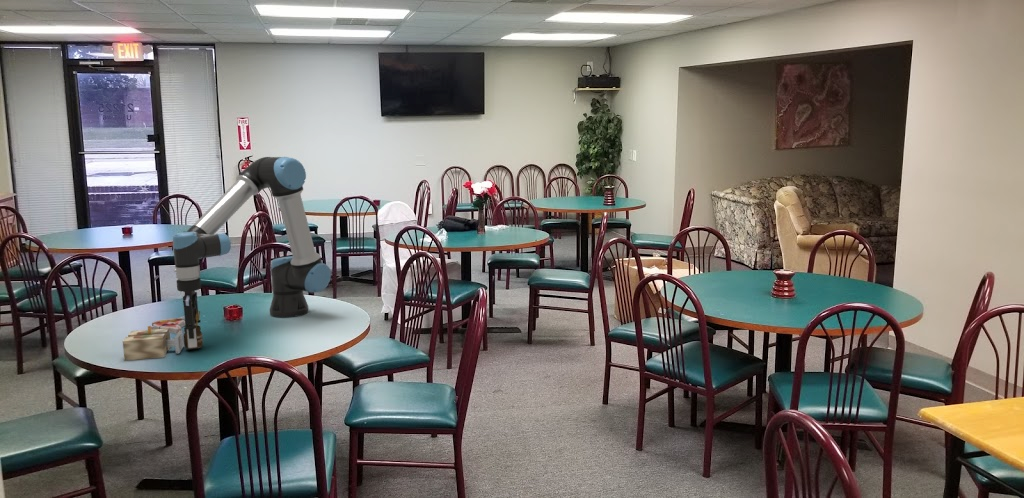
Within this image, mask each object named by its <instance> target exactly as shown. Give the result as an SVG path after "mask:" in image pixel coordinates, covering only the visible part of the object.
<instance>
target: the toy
mask: <svg viewBox="0 0 1024 498" xmlns="http://www.w3.org/2000/svg"><path fill="white" fill-rule="evenodd" d="M184 320H185V315H183V316H180V317H178V318H177V317H176V318H167V319H165V318H164V319H159V320H155V321H154V322H152V323H151V325H150V326H151V330H154V329H167V328H169V331H170V334H174V333H175V335H177V333H178V332H179V331H183V329H182V328H184V327H185V326H184V325H185V323H183V322H185V321H184Z"/></svg>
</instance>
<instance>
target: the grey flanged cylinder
mask: <svg viewBox="0 0 1024 498" xmlns="http://www.w3.org/2000/svg"><path fill="white" fill-rule="evenodd" d="M151 326H152V325H148V326H147V330H148V335H152V332H151ZM183 332H184V330H182V331H179V332H178V333H177V334H175V336H174V338H170V339H165V341H166V347H170V348H174V349H175V354H181V352H182V350H183V348H185V345H184V333H183Z"/></svg>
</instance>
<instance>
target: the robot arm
mask: <svg viewBox="0 0 1024 498" xmlns="http://www.w3.org/2000/svg"><path fill="white" fill-rule="evenodd" d="M306 179H307V172H306V169H305V167H304V165H303V163H301V162H300V160H297V158H293V157H290V156H289V157H288V156H265V157H264V156H263V157H260V158H258V159H256V160H255V161H253V162H251V164H249V165H248V166H247V167H246V168H244V169H243V170H241V172H240V173H239V174H238V175H237V176H236V179H235V180H236V181H235V182H234V183H233V184H232V185H231V186H230V187H229V188H228V189H227V190H226V191H225V192H224V193H223V194H222V195H221V196H220V197H219V198H218V199H217V200H216V201H215V202H214V204H212V205H211V207H209V208H208V209H207V210H206V211H205V213H203V214H202V216H200V218H199V219H197V220H196V221H195V223H194V224H192V226H190V227H189V228H188V229H187V230H183V231H180V232H178V233H175V234H173V236H172V250H173V256H174V265H175V266H174V267H175V269H173V272H174V273H175V276H176V277H175V278H176V279H177V280H176V289H177V291H179V292H183V293H184V295H183V296H182V303H183V311H184V315H183V316H185V317H184V319H185V326H184V327H183V331H184V330H187V338H188V348H194V347H197V338H196V328H195V325H196V322H197V321H196V313H197V314H198V311H199V305H198V304H199V303H198V293H197V291H199V290H201V288H202V282H201V281H202V280H201V267H200V266H201V265H200V260H201V259H205V258H206V259H207V258H212V257H220V256H223V255H227V254H228V253H230V250H231V248H232V245H231V243H232V242H231V239H230V237H229V236H228V235H227V234H225V233H217V232H218V231H219V230H220V229H221V228H222V227H223V226H224V225H225V224H226V223H227V221H229V220H230V219H231V218H232V217H233V215H234V214H235V213H236V212H238V211H239V209H241V207H242V206H243V205H244V204H245V203H247V202H248V200H249V199H250V198H251V197H253V196H257V195H258V194H259V193H260V191H263V190H264V189H268V188H269V189H270V193H271V196H272V198H274V199H276V200H277V202H278V206H279V210H280V214H281V217H282V220H283V225H284V228H285V232H286V235H287V240H288V243H289V244H288V245H289V248H290V251H291V254H292V255H291V256H290V255H289V256H284V257H277V258H273V259H272V261H271V268H270V270H271V282H272V283H271V284H272V300H271V304H270V306H269V307H270V308H269V315H270V316H271V317H275V318H292V317H300V316H303V315H306V314H308V313H309V312H310V311H309V305H308V302H307V300H306V296H305V295H304V292H307V293H320V292H322V291H324V290H326V288H327V287H328V286H329V283H330V281H331V277H332V273H331V268H330V267H329V265H327V264H326V263H323V261H322V258H321V254H320V253H318V252H316V250H315V247H314V246H315V245H314V241H313V237H312V234H311V230H310V227H309V222H308V219H307V215H306V214H307V213H306V211H305V207H304V203H303V198H302V193H303V191H304V187H303V186H304V184H305V182H306ZM198 316H199V314H198ZM199 323H201V319H199V320H198V324H197V326H200V324H199Z"/></svg>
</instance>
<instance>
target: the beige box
mask: <svg viewBox="0 0 1024 498" xmlns="http://www.w3.org/2000/svg"><path fill="white" fill-rule="evenodd" d="M151 332H152V335H148V329H144V330H131V331H130V332H129V333H128V335H127V336H126V337H125V338H124V339H123V340H122V348H123V350H122V351H123V357H124V358H123V359H124V361H134V360H149V359H157V358H165V357H166V355H167V352H168V351H169V350H170V348H171V347H166V341H165V339H171V333H170V331H169V328H167V329H154V330H151Z"/></svg>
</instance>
